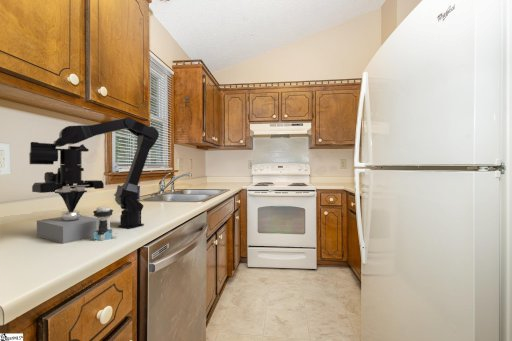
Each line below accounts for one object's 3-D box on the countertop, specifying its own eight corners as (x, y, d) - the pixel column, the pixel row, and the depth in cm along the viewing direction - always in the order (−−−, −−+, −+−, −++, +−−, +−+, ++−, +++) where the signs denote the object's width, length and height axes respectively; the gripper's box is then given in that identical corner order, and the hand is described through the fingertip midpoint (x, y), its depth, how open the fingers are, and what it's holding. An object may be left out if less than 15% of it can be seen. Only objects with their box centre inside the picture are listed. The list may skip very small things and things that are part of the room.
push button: (118, 235, 84) (118, 205, 84) (116, 240, 79) (116, 208, 79) (94, 237, 81) (94, 206, 81) (91, 242, 76) (91, 209, 76)
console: (76, 228, 93) (76, 214, 93) (103, 234, 85) (103, 219, 85) (36, 235, 82) (36, 220, 82) (63, 243, 75) (63, 226, 75)
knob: (74, 231, 87) (74, 210, 87) (82, 233, 85) (82, 211, 85) (58, 235, 83) (58, 212, 83) (66, 237, 80) (66, 213, 80)
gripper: (86, 164, 95) (86, 206, 96) (23, 164, 79) (23, 214, 79) (104, 165, 90) (104, 208, 91) (41, 164, 74) (41, 218, 74)
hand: (71, 211), depth 84 cm, fingers closed, pressing on knob
